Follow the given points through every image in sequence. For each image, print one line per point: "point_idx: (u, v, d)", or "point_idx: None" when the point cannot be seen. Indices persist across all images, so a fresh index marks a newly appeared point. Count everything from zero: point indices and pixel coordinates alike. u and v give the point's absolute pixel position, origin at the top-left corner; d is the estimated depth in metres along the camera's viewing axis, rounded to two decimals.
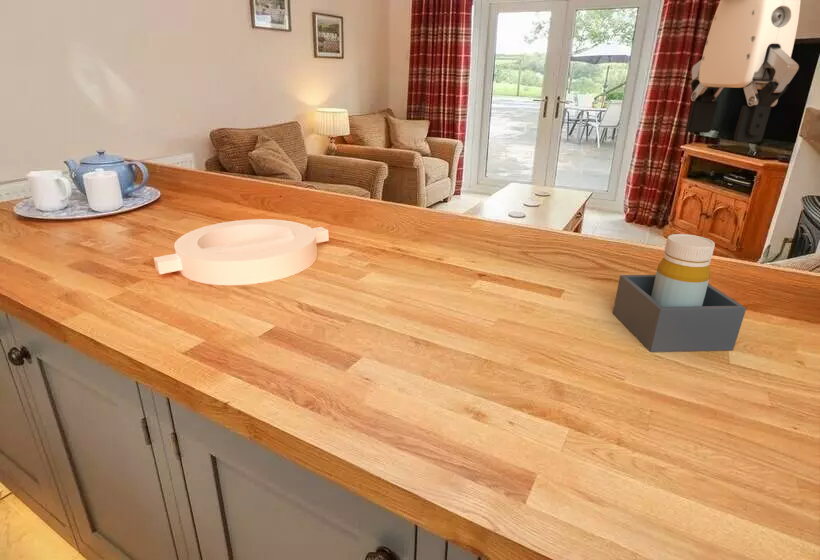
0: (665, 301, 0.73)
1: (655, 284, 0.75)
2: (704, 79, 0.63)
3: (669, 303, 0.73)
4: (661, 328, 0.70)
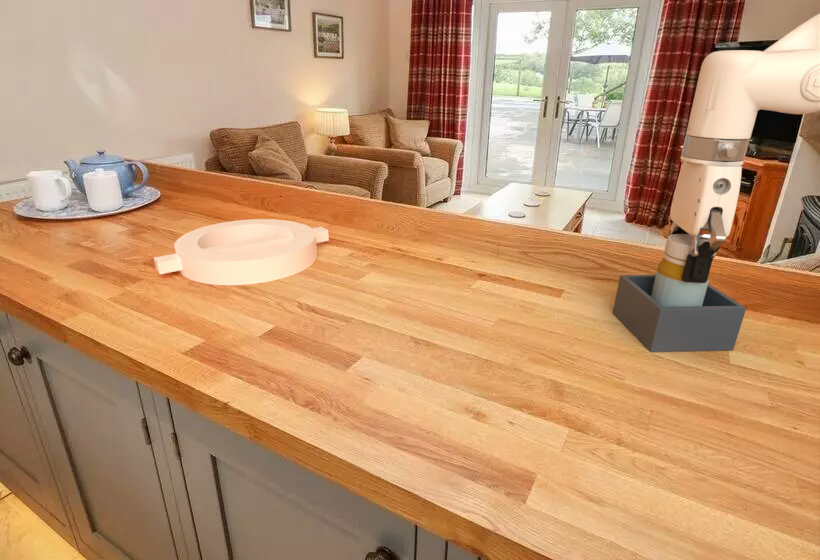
0: (665, 301, 0.73)
1: (655, 284, 0.75)
2: (672, 218, 0.74)
3: (669, 303, 0.73)
4: (661, 328, 0.70)
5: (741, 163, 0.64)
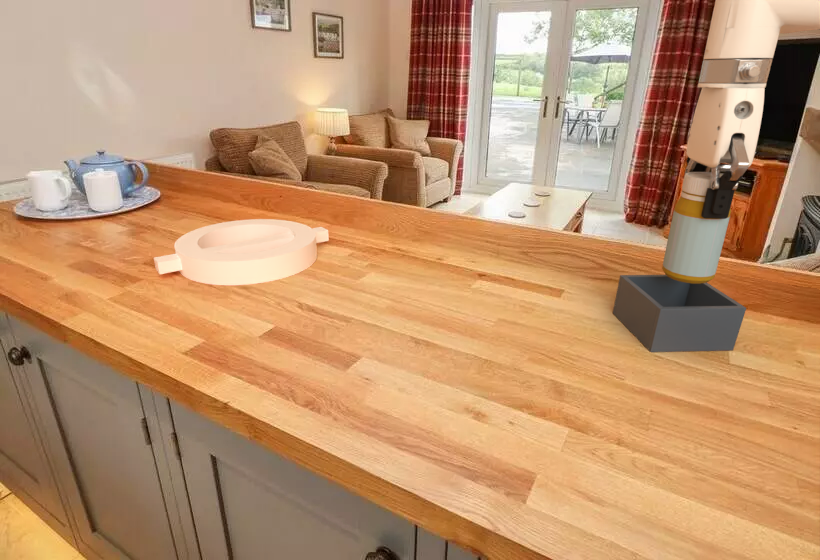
0: (683, 242, 0.70)
1: (672, 225, 0.71)
2: (689, 154, 0.70)
3: (687, 243, 0.69)
4: (661, 328, 0.70)
5: (763, 86, 0.61)
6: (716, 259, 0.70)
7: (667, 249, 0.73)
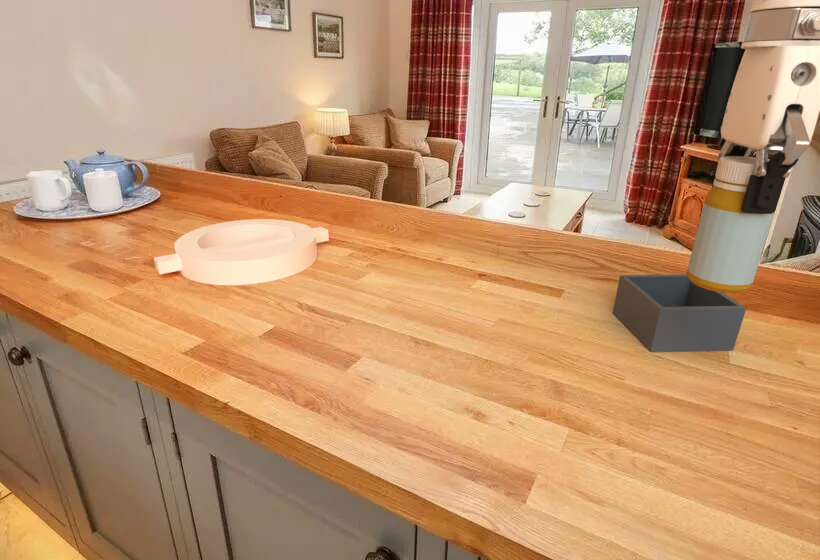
0: (716, 242, 0.56)
1: (702, 222, 0.58)
2: (725, 134, 0.57)
3: (721, 244, 0.56)
4: (661, 328, 0.70)
5: None
6: (755, 264, 0.57)
7: (694, 250, 0.60)
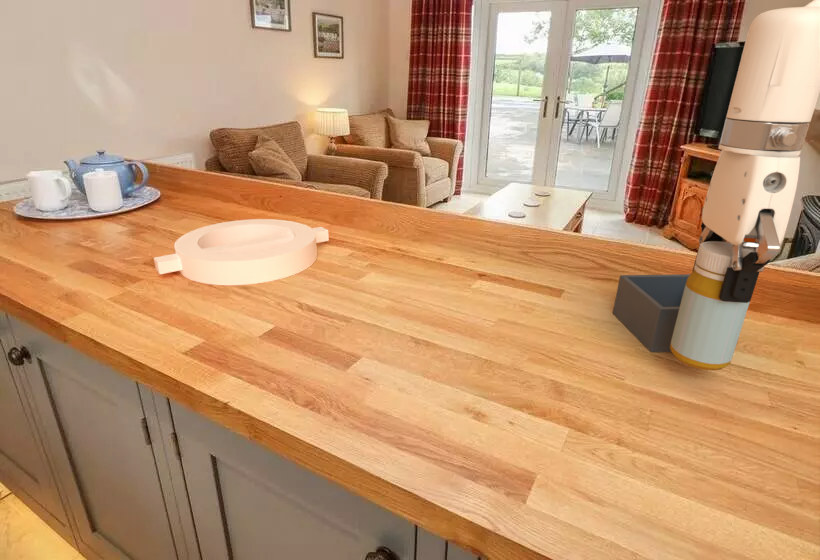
0: (696, 323, 0.60)
1: (683, 302, 0.62)
2: (705, 221, 0.60)
3: (701, 326, 0.59)
4: (661, 328, 0.70)
5: (798, 153, 0.51)
6: (734, 344, 0.60)
7: (677, 328, 0.63)
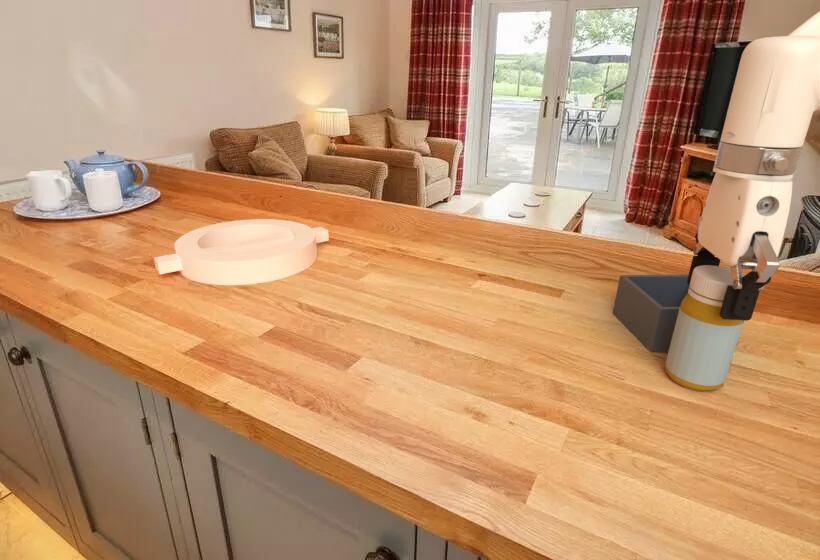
0: (690, 346, 0.61)
1: (677, 325, 0.63)
2: (701, 241, 0.61)
3: (695, 349, 0.61)
4: (661, 328, 0.70)
5: (791, 177, 0.52)
6: (727, 367, 0.61)
7: (671, 349, 0.64)
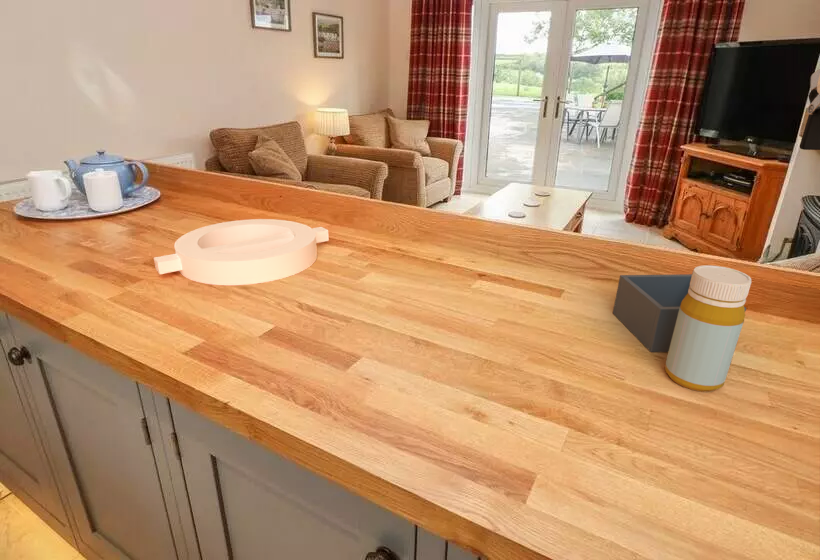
0: (690, 346, 0.61)
1: (677, 325, 0.63)
2: None
3: (695, 349, 0.61)
4: (661, 328, 0.70)
5: None
6: (727, 367, 0.61)
7: (671, 349, 0.64)
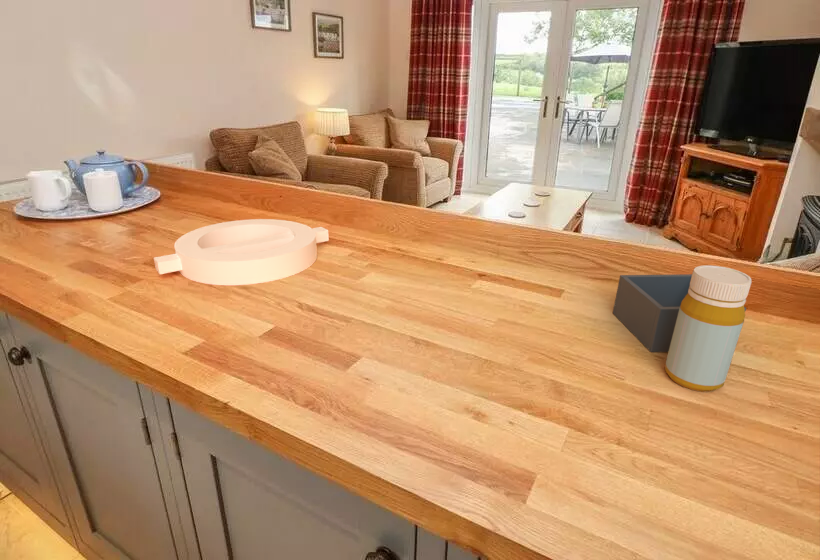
0: (690, 346, 0.61)
1: (677, 325, 0.63)
2: None
3: (695, 349, 0.61)
4: (661, 328, 0.70)
5: None
6: (727, 367, 0.61)
7: (671, 349, 0.64)
